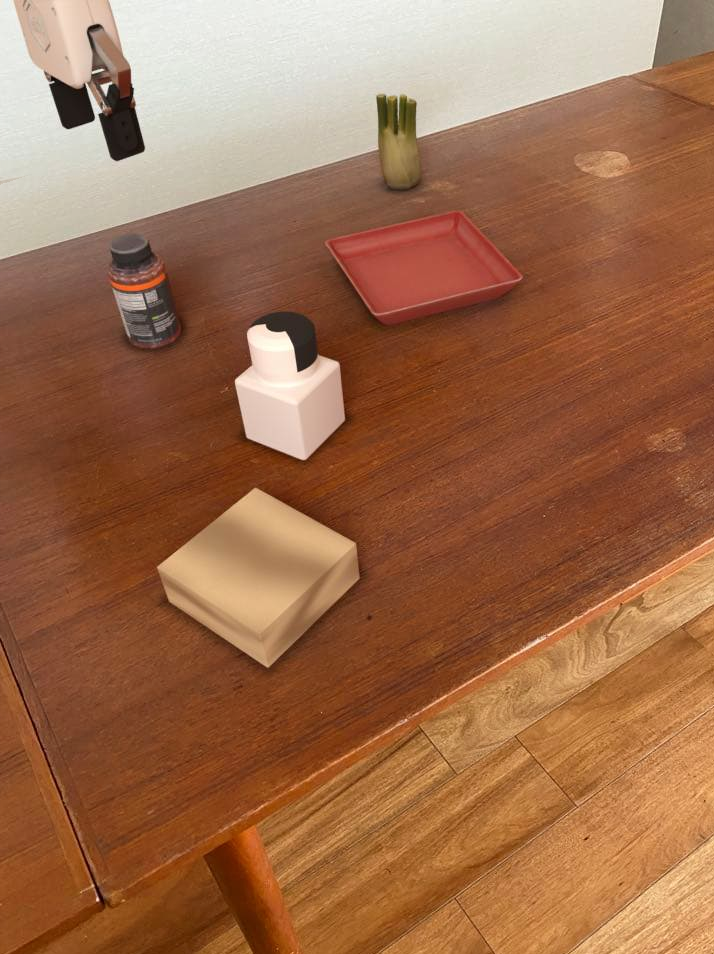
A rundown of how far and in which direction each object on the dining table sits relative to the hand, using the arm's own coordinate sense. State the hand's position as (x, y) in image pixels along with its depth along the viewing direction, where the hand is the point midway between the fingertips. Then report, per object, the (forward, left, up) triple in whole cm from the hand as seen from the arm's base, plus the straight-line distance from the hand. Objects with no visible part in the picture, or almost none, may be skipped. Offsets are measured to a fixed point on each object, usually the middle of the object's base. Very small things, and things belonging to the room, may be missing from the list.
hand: (103, 139), depth 80 cm
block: (-12, -38, -22) cm, 45 cm away
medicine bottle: (+2, -23, -22) cm, 32 cm away
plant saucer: (+29, -11, -22) cm, 38 cm away
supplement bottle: (0, +1, -22) cm, 22 cm away
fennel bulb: (+44, +10, -22) cm, 50 cm away
